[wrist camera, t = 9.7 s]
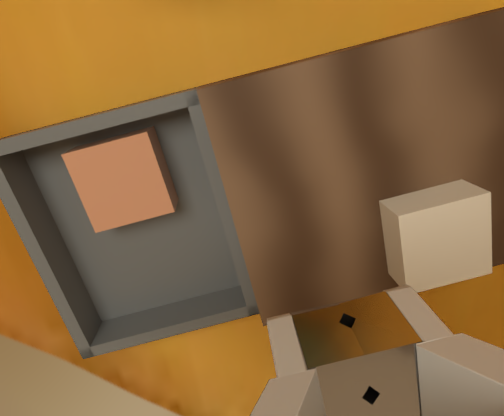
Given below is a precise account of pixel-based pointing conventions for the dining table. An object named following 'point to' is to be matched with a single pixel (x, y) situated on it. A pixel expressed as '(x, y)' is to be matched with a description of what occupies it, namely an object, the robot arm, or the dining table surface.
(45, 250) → the bin
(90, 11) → the dining table surface
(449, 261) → the cream block
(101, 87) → the dining table surface
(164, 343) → the dining table surface
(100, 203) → the terracotta tile
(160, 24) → the dining table surface
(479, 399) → the robot arm
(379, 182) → the block
